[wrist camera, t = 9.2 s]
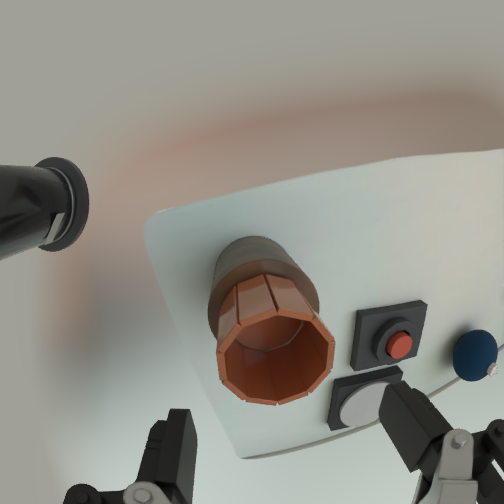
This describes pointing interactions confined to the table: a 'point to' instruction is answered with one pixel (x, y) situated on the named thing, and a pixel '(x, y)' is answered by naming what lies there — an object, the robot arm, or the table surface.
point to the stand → (254, 273)
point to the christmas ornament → (475, 355)
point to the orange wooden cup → (272, 342)
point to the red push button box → (385, 333)
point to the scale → (359, 397)
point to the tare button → (399, 345)
